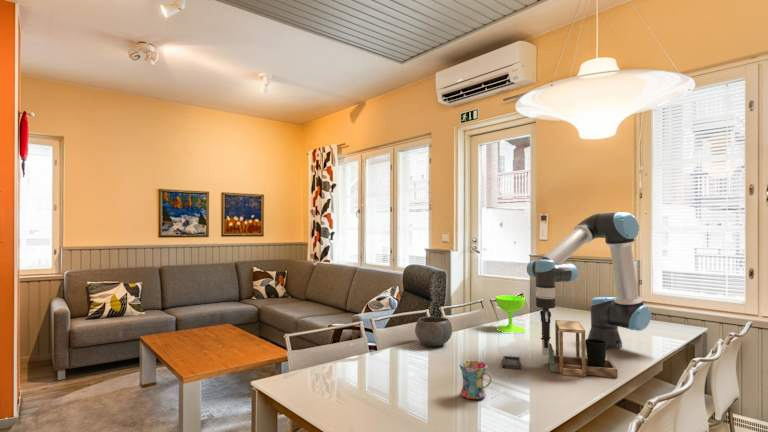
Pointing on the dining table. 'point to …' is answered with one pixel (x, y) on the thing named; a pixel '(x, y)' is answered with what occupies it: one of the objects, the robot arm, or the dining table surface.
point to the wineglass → (510, 311)
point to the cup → (596, 352)
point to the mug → (473, 379)
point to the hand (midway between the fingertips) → (545, 355)
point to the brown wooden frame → (576, 328)
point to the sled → (577, 364)
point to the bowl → (433, 330)
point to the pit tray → (511, 362)
